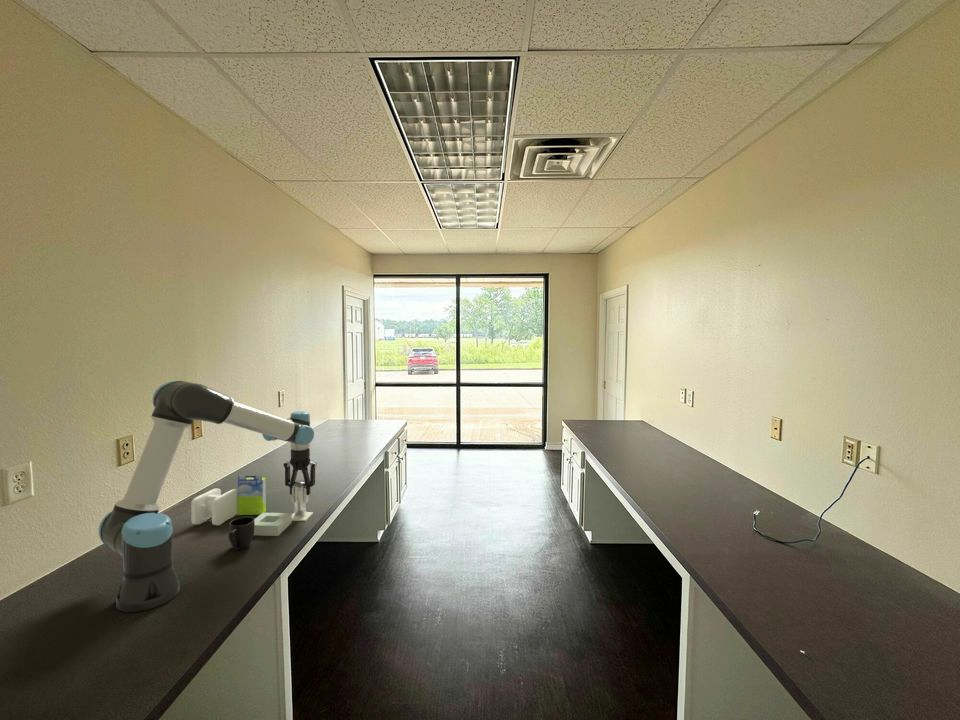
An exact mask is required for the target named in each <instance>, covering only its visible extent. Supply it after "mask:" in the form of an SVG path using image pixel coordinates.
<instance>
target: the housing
mask: <svg viewBox="0 0 960 720" xmlns="http://www.w3.org/2000/svg"><path fill="white" fill-rule="evenodd" d="M292 514H293V513H288V512H265V513H262V514H261V515H257V517H255V518H254V520H255V528H254V535H253V536H263V537H264V536H265V537H267V536H271V537H272V536H273V537H278V536H280V535H281V534H282V533H283V532H284V531H285V530H287V528H288V527H290V525H292V523H293V521H292Z"/></svg>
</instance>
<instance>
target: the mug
mask: <svg viewBox="0 0 960 720" xmlns="http://www.w3.org/2000/svg"><path fill="white" fill-rule="evenodd" d="M254 519H255V518H253V517H252V516H241V517H237V518H235V519H232V520H231V521H229V524H228V528H229V529H228V530H229V531H228V540H229V541H228V542H229V543H230V545H231V546H232V548H233V549H234V550H235V551H242V550H246V549H248V548H250V547H251V544H252V541H253V537H254V536H255V535H254V528H255V520H254Z"/></svg>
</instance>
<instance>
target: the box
mask: <svg viewBox="0 0 960 720" xmlns="http://www.w3.org/2000/svg"><path fill="white" fill-rule="evenodd" d="M266 478H267V477H263V475H237V490H238V512H237V516H251V515H253V516H254V515H255V516H256V515H257V516H259V515H261V514H262V513H267V501H266V499H267V492H266V491H267V490H266V489H267V488H266V485H267V483H266V481H267V480H266Z"/></svg>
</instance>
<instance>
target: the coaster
mask: <svg viewBox="0 0 960 720" xmlns="http://www.w3.org/2000/svg"><path fill="white" fill-rule="evenodd" d="M313 514H314V512H313V511H306V514H305V515H303V516H295V515H294V512H293V513H292V522H307V520H309V518H310V517H312V516H313Z"/></svg>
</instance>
